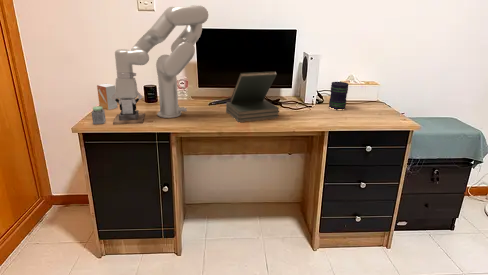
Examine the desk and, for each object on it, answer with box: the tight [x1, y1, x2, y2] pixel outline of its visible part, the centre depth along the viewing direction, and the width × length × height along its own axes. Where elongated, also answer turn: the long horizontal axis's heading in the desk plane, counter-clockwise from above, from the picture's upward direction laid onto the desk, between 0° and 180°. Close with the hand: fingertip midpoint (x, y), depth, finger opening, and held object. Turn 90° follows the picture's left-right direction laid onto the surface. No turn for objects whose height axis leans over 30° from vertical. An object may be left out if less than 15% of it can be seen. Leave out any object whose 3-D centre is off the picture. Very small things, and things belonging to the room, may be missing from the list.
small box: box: [96, 83, 118, 111], centre depth 194 cm, size 8×6×13 cm
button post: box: [91, 108, 107, 125], centre depth 170 cm, size 5×5×6 cm
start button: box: [92, 105, 104, 112], centre depth 170 cm, size 4×4×7 cm
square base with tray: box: [112, 109, 146, 125], centre depth 176 cm, size 14×14×4 cm
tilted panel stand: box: [225, 70, 280, 123], centre depth 184 cm, size 23×20×25 cm
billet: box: [121, 99, 134, 115], centre depth 174 cm, size 5×5×8 cm
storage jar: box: [328, 81, 349, 109], centre depth 203 cm, size 10×10×15 cm
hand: (128, 110), depth 175 cm, fingers closed on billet, 5 cm apart
